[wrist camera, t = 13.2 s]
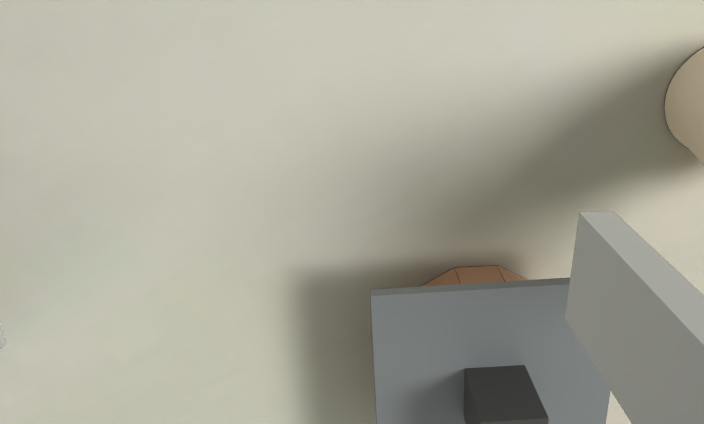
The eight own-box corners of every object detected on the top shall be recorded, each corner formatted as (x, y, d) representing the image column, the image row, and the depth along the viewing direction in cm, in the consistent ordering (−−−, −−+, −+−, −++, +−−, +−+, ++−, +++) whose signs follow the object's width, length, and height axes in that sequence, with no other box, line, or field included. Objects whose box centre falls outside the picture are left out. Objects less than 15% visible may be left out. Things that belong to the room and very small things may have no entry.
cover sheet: (379, 475, 45) (384, 546, 40) (370, 289, 39) (375, 344, 33) (594, 462, 45) (628, 531, 40) (620, 274, 39) (665, 326, 33)
